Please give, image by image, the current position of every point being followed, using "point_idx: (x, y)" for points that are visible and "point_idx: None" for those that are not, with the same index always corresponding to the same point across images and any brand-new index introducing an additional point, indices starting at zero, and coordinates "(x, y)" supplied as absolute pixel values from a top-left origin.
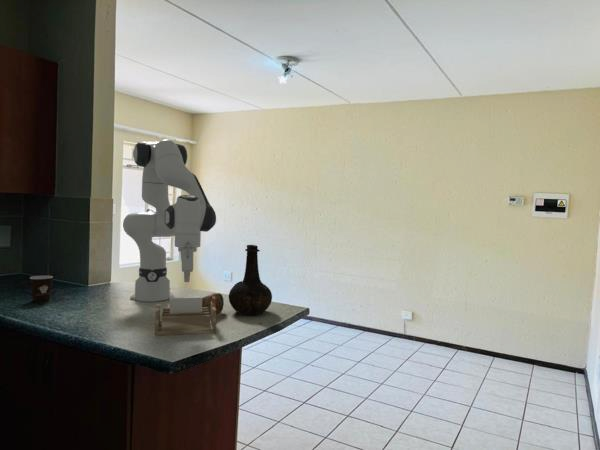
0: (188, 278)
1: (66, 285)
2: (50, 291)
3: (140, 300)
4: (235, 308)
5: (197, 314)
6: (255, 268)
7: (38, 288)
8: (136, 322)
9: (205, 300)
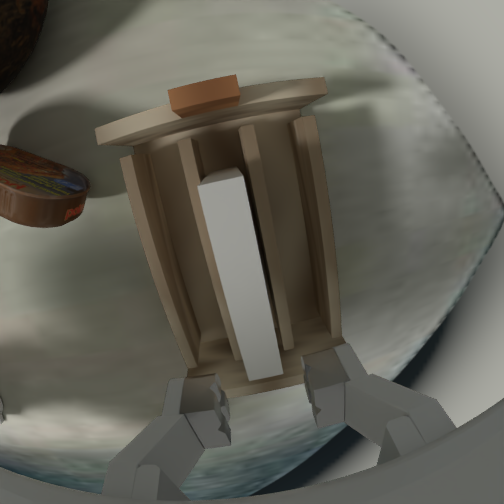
0: (362, 372)
1: None
2: None
3: (2, 406)
4: (15, 75)
5: (265, 189)
6: None
7: None
8: None
9: (43, 196)
